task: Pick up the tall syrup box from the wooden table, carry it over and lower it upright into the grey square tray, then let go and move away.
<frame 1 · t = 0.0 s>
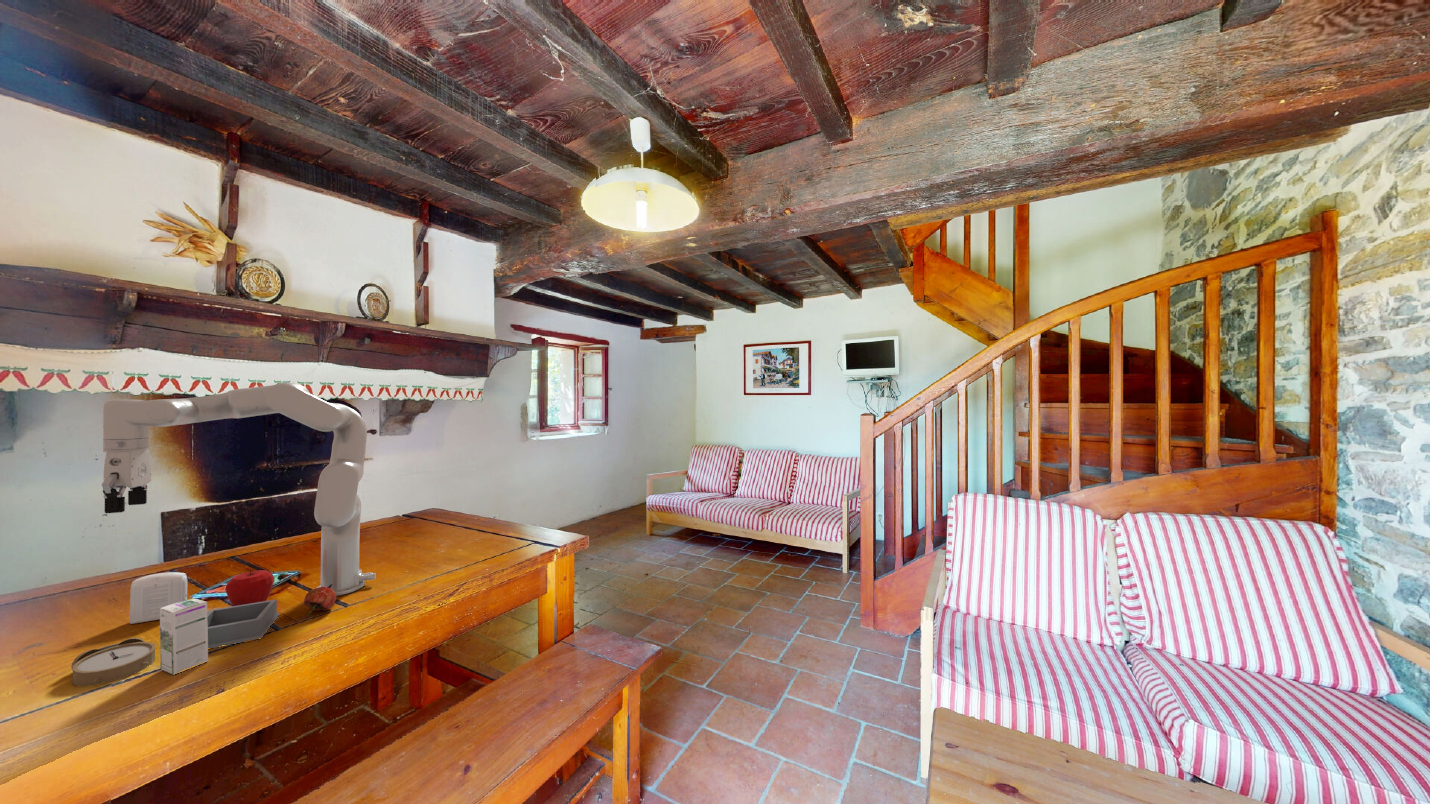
hand: (126, 508, 120), 31 cm above the table, tool pointing down, fingers open, 9 cm apart
photo printer: (159, 618, 124), on the table
syrup box: (184, 667, 102), on the table
pomegranate: (319, 612, 129), on the table
apple: (250, 607, 131), on the table
grey square tray: (234, 633, 116), on the table
alarm clock: (113, 670, 101), on the table
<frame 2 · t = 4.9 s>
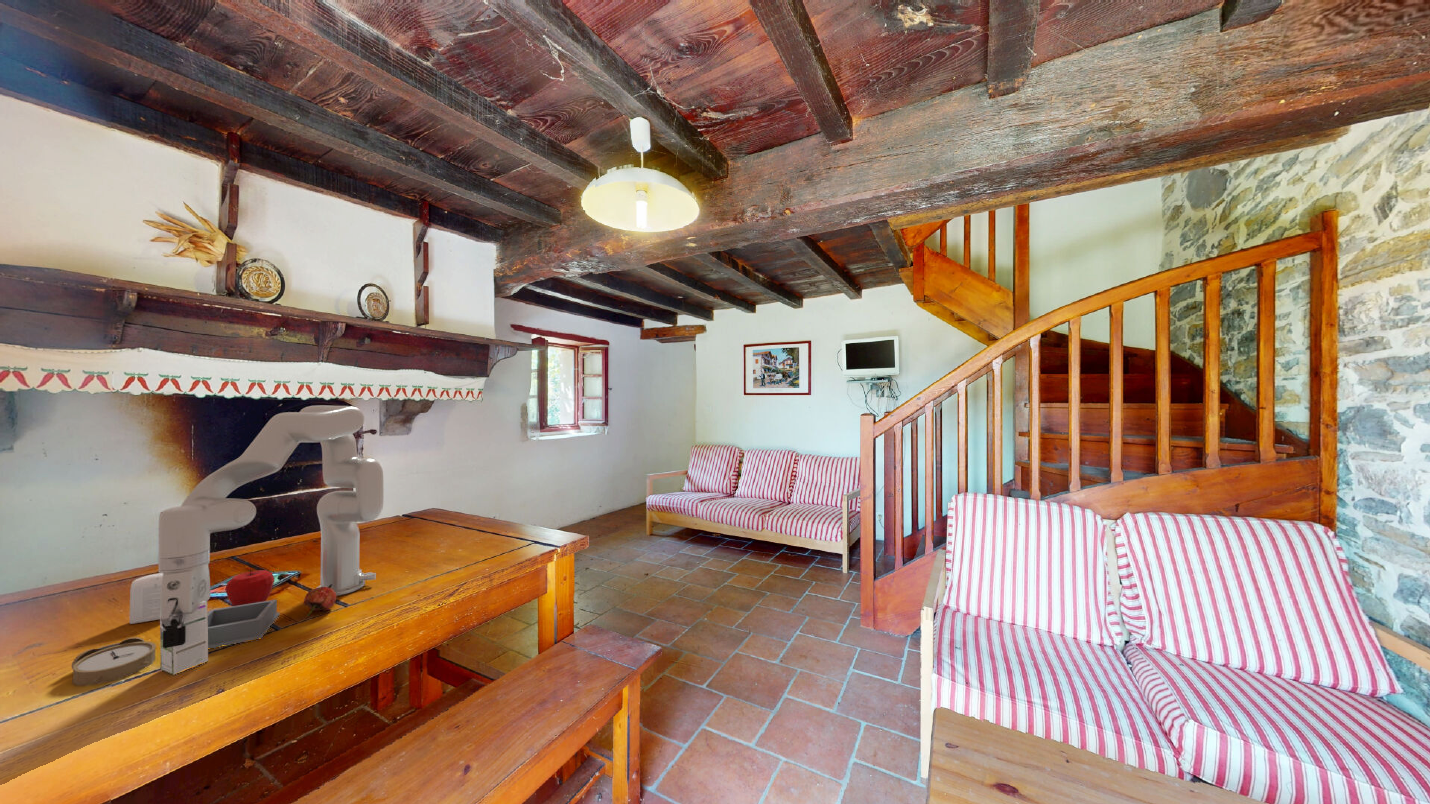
hand: (184, 636, 102), 7 cm above the table, tool pointing down, fingers closed on syrup box, 8 cm apart
syrup box: (184, 667, 102), on the table, touching gripper
everything else where it was.
when the fingers open (9 cm above the table, at t = 13.4 s): syrup box stays where it is, resting on grey square tray.
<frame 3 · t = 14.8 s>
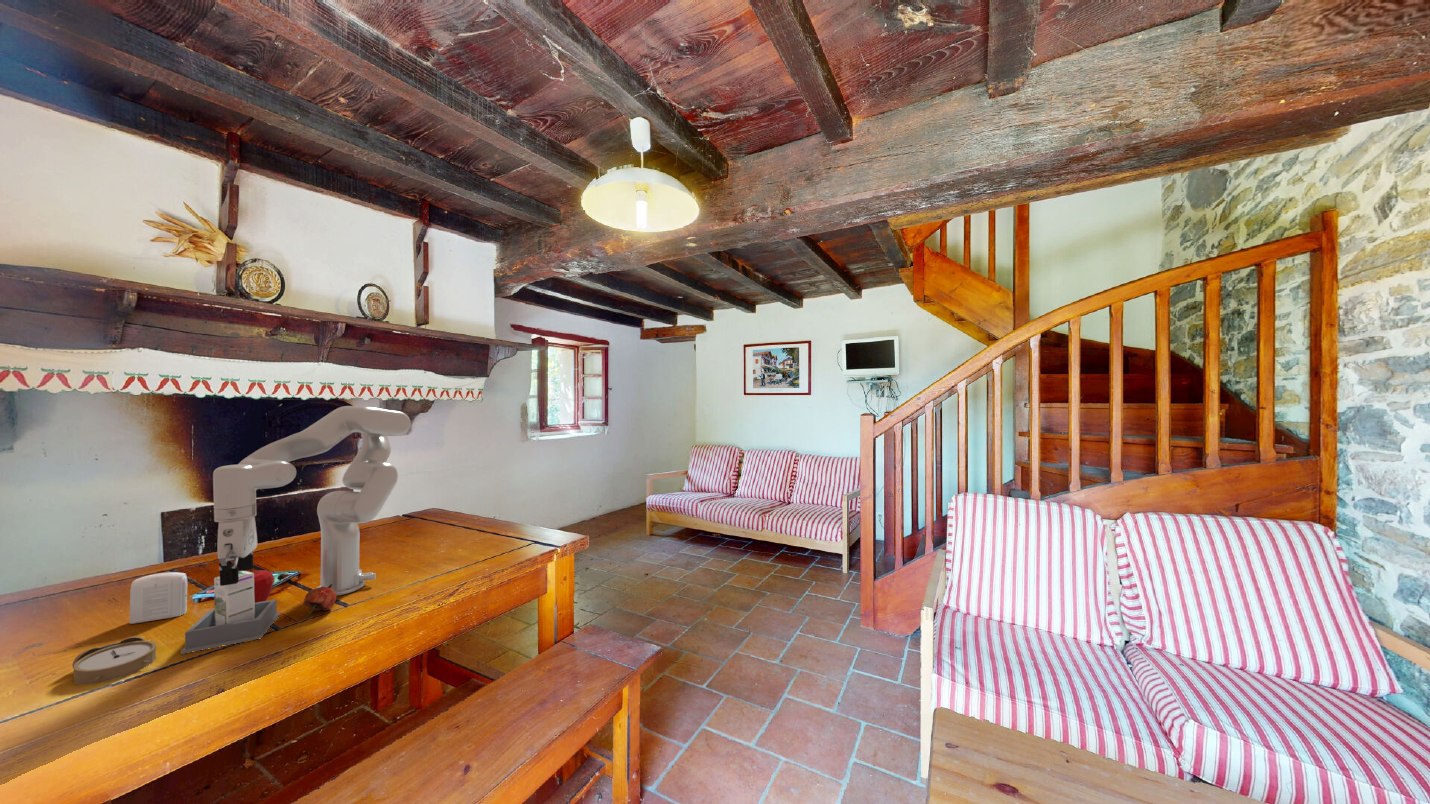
hand: (237, 577, 117), 15 cm above the table, tool pointing down, fingers open, 9 cm apart
syrup box: (234, 630, 116), point 1 cm above the table, touching grey square tray
everything else where it was.
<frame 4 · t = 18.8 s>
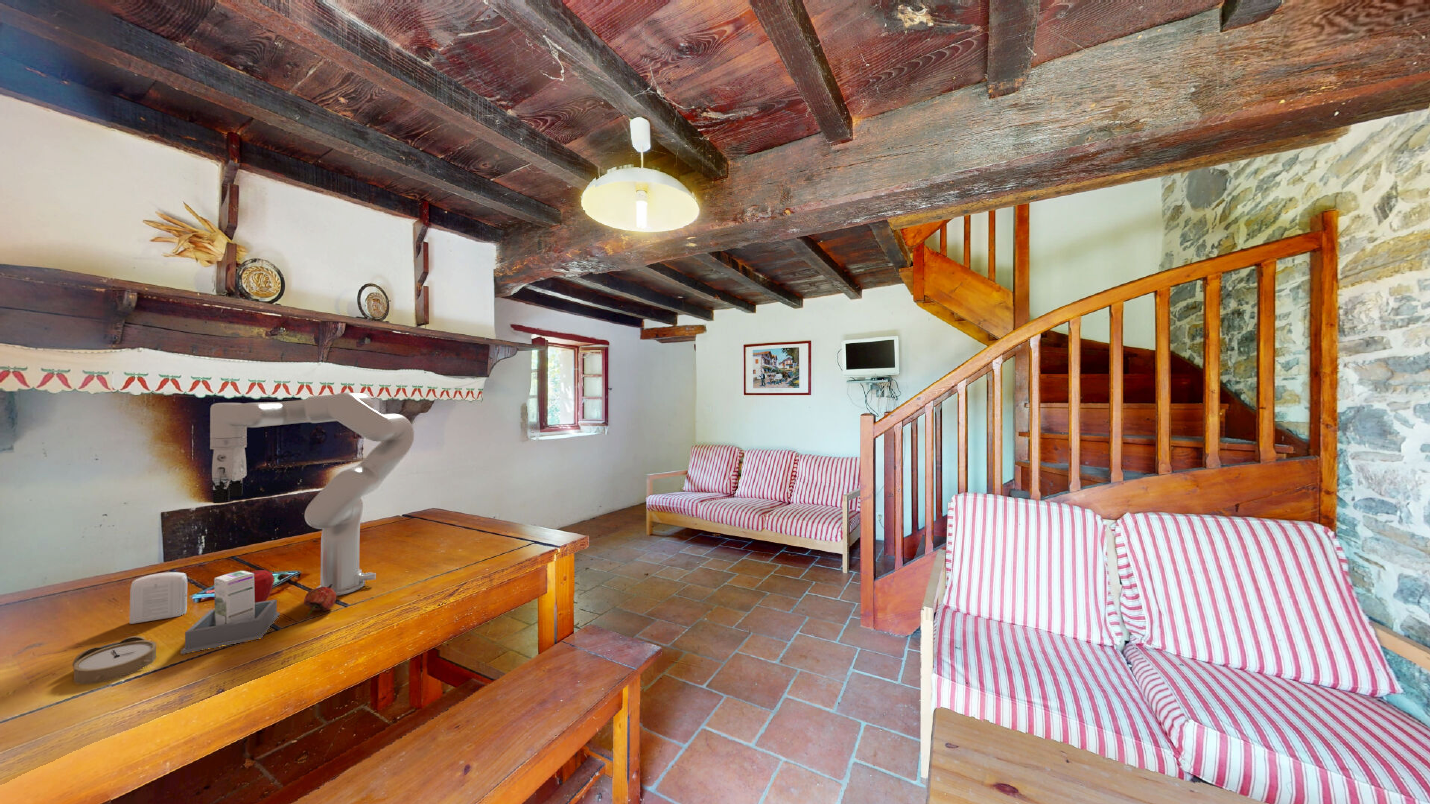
hand: (228, 499, 136), 30 cm above the table, tool pointing down, fingers open, 9 cm apart
nothing on the table moved.
at the end: syrup box 0.1 cm off-centre on the grey square tray, point 0.8 cm above the grey square tray's base; syrup box tilted 0°; the gripper is holding nothing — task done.
